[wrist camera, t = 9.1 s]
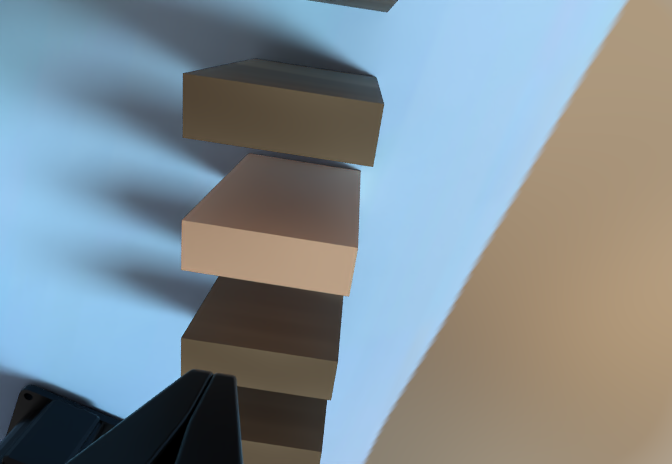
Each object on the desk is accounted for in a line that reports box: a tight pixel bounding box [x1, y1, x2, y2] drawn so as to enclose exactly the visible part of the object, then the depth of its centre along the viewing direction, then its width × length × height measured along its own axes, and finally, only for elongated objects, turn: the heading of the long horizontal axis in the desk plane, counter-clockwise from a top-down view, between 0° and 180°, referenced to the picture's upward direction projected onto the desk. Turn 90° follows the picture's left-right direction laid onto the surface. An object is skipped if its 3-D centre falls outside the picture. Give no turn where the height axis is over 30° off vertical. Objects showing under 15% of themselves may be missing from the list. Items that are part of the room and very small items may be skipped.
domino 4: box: [237, 386, 327, 464], centre depth 20 cm, size 2×5×8 cm, turn 83°
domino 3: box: [181, 276, 343, 400], centre depth 18 cm, size 2×5×8 cm, turn 82°
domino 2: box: [181, 153, 361, 296], centre depth 17 cm, size 2×5×8 cm, turn 82°
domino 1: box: [183, 59, 384, 167], centre depth 15 cm, size 2×5×8 cm, turn 82°
